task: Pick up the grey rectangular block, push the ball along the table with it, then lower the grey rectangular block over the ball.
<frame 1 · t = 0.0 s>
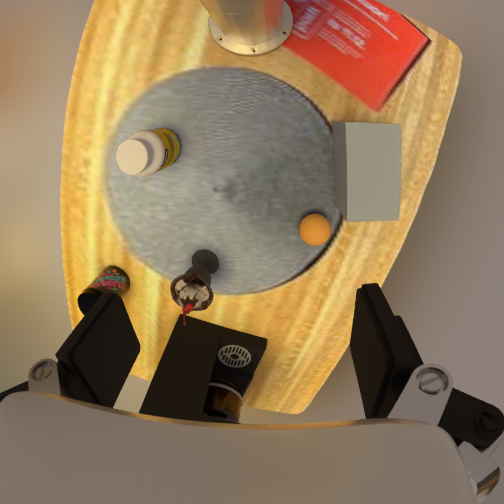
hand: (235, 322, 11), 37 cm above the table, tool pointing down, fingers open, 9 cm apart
sundae: (205, 261, 52), on the table
ball: (315, 229, 45), on the table
supplement container: (116, 278, 56), on the table
grey rectangular block: (357, 162, 42), on the table
pill bottle: (163, 147, 44), on the table
coffee maker: (211, 367, 65), on the table
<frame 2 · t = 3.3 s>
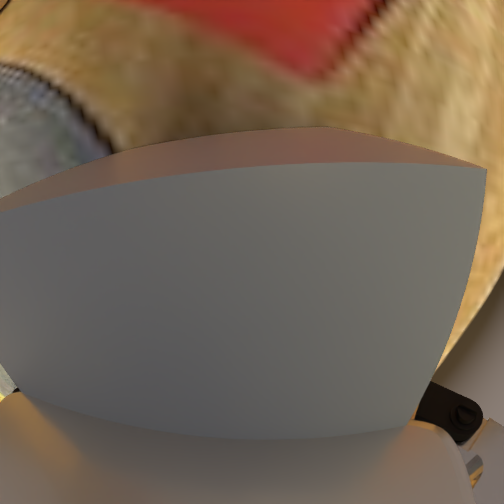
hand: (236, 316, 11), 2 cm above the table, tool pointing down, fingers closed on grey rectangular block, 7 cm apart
grey rectangular block: (241, 287, 13), on the table, touching gripper
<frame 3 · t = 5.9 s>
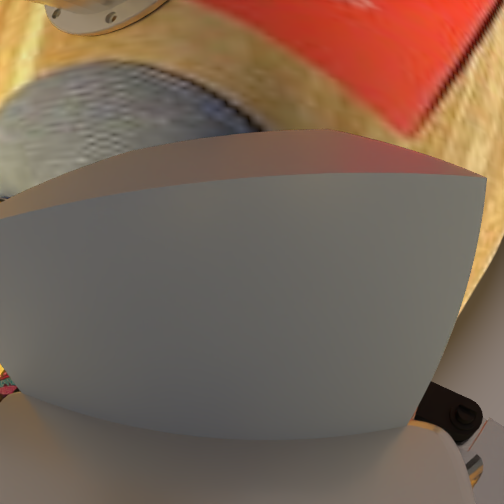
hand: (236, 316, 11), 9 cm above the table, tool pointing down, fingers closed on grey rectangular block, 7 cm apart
supplement container: (26, 372, 33), on the table
grey rectangular block: (241, 289, 13), point 7 cm above the table, touching gripper
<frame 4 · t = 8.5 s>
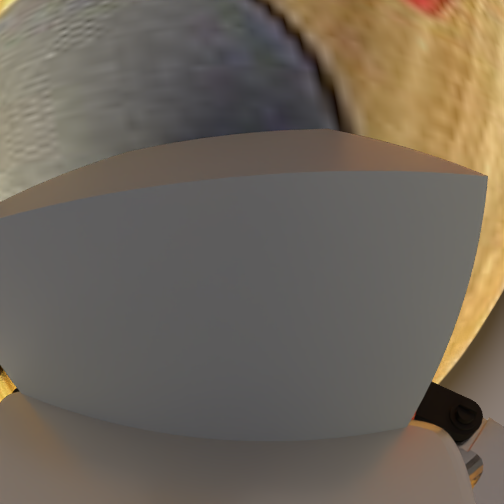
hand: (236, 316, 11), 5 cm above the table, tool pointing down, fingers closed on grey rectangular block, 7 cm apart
grey rectangular block: (241, 289, 13), point 3 cm above the table, touching gripper
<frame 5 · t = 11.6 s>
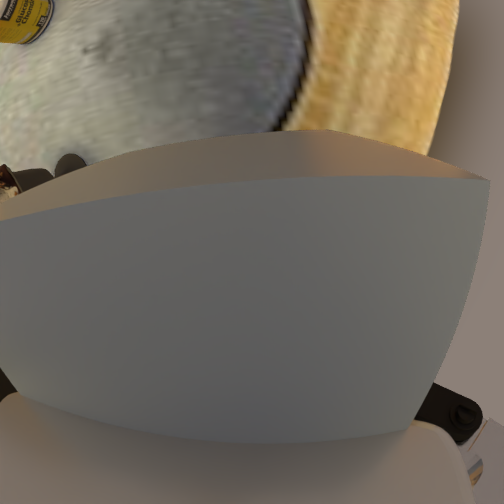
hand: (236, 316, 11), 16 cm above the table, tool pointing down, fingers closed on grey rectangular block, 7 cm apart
sundae: (72, 176, 26), on the table
grey rectangular block: (241, 290, 13), point 14 cm above the table, touching gripper
pill bottle: (36, 20, 17), on the table
when the fingers open (2 cm above the table, at t = 14.5 s): grey rectangular block stays where it is, on the table.
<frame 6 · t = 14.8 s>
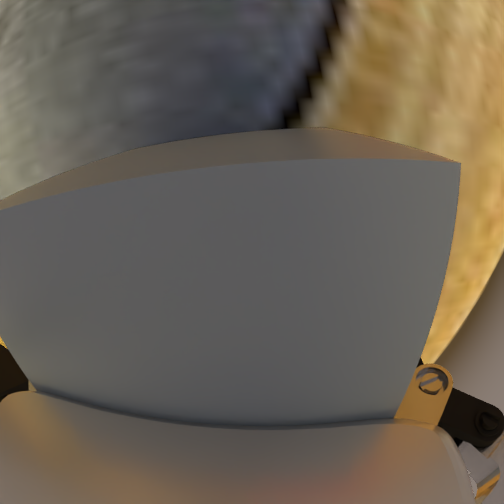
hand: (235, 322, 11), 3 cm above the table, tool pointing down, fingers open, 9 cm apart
grey rectangular block: (242, 283, 13), on the table
coffee maker: (83, 438, 26), on the table
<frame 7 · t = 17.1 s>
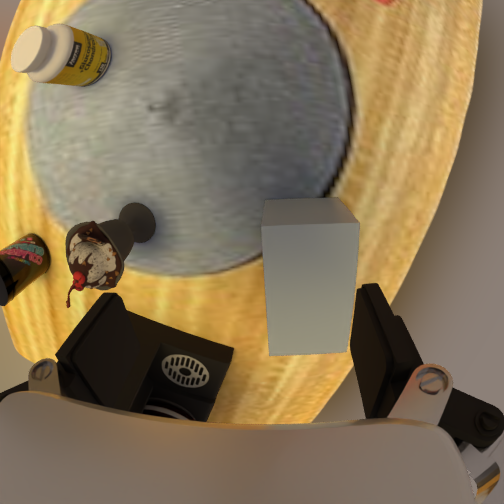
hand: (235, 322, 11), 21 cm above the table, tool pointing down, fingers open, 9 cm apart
sundae: (137, 222, 33), on the table
supplement container: (37, 252, 36), on the table
grey rectangular block: (303, 256, 33), on the table
pill bottle: (91, 62, 25), on the table
coffee maker: (161, 384, 44), on the table
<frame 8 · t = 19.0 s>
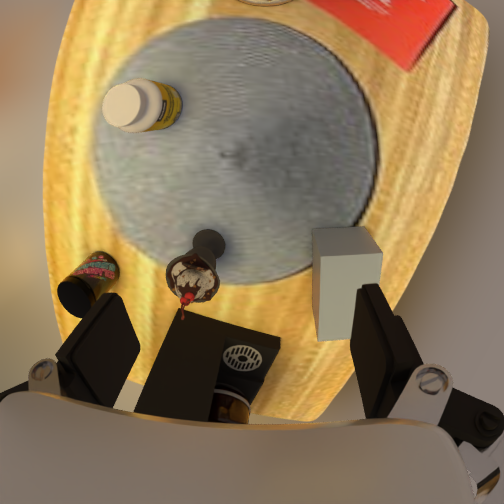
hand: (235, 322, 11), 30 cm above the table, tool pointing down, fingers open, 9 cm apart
sundae: (209, 244, 44), on the table
supplement container: (104, 267, 47), on the table
grey rectangular block: (337, 268, 43), on the table
pill bottle: (161, 106, 35), on the table
coffee maker: (214, 371, 56), on the table
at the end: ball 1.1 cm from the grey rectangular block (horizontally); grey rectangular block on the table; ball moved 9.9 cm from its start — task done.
